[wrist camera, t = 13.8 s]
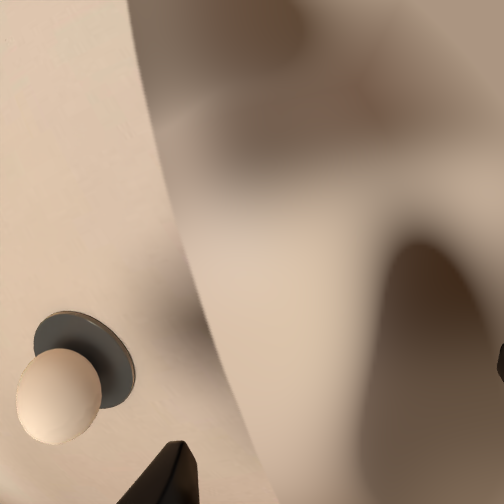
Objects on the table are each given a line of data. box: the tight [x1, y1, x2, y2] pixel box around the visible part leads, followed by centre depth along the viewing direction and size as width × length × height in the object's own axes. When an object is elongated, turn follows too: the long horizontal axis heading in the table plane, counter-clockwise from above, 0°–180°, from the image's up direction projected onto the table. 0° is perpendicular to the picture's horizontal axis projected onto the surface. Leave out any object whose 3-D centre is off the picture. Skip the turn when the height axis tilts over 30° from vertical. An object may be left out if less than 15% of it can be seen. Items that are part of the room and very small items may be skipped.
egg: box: [16, 349, 102, 444], centre depth 15 cm, size 5×5×7 cm
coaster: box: [34, 311, 134, 409], centre depth 19 cm, size 8×8×1 cm
